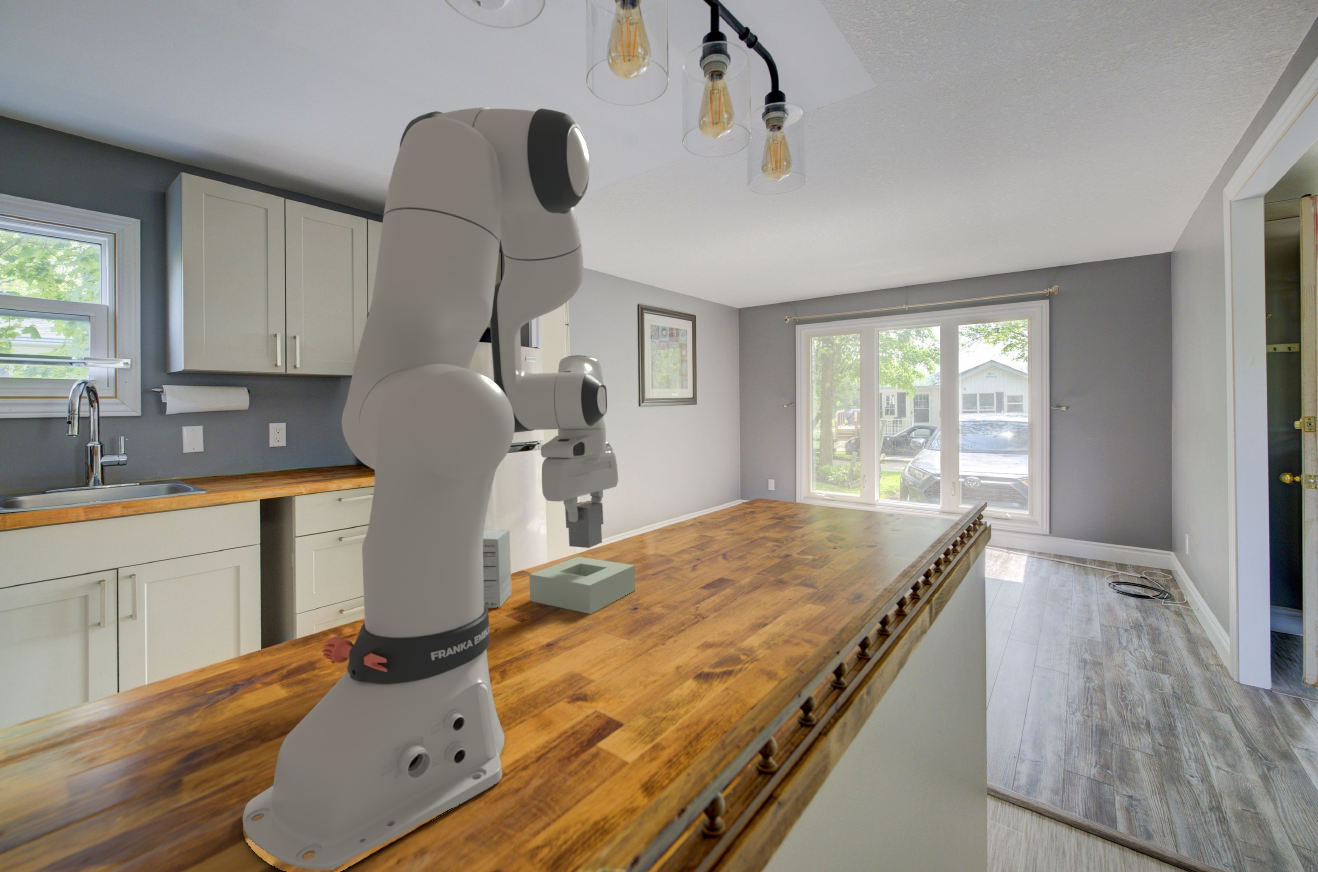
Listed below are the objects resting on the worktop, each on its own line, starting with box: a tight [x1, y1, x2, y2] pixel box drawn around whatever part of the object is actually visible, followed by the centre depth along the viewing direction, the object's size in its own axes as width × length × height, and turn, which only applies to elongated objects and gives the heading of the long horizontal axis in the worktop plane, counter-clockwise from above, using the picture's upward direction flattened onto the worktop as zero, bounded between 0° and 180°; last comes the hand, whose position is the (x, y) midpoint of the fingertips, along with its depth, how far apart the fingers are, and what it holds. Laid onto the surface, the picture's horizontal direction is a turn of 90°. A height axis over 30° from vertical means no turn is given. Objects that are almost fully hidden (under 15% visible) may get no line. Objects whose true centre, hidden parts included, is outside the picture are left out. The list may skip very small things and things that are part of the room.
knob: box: [564, 500, 604, 549], centre depth 104 cm, size 5×5×8 cm
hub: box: [528, 556, 636, 615], centre depth 104 cm, size 14×14×5 cm
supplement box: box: [483, 529, 512, 609], centre depth 102 cm, size 7×7×13 cm
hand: (584, 517), depth 104 cm, fingers closed on knob, 5 cm apart
